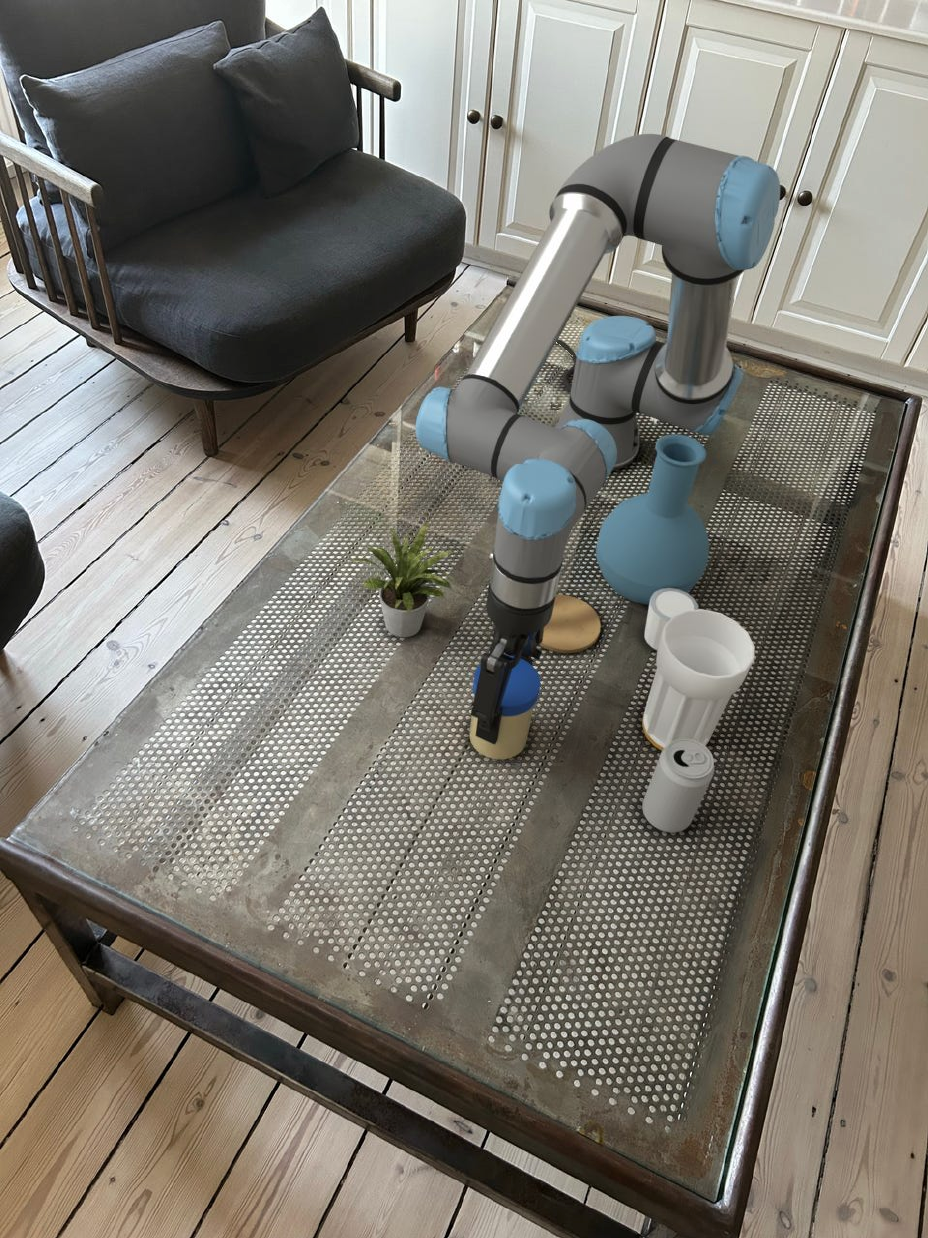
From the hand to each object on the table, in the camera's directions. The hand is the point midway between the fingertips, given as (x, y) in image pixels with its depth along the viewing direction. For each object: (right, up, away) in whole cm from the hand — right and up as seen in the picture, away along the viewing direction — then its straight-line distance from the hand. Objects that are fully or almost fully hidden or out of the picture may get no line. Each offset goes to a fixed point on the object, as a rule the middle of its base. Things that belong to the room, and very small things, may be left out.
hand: (501, 713), depth 125 cm
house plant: (-14, +10, +15) cm, 23 cm away
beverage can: (+20, -12, -3) cm, 24 cm away
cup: (+23, -3, +6) cm, 24 cm away
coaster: (+10, +11, +18) cm, 23 cm away
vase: (+23, +18, +26) cm, 39 cm away
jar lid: (0, +4, -5) cm, 6 cm away
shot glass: (+24, +9, +18) cm, 31 cm away
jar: (0, -3, +3) cm, 5 cm away
